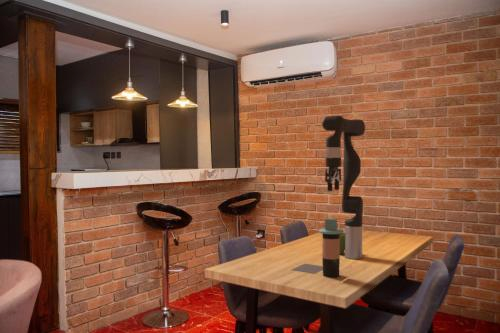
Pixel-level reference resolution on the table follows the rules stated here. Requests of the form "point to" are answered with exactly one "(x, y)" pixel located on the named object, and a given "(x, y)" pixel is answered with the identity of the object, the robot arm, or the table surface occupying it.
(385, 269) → the table surface
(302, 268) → the mat
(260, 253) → the table surface
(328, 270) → the travel mug
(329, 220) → the lid
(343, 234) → the plant pot
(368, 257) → the table surface
